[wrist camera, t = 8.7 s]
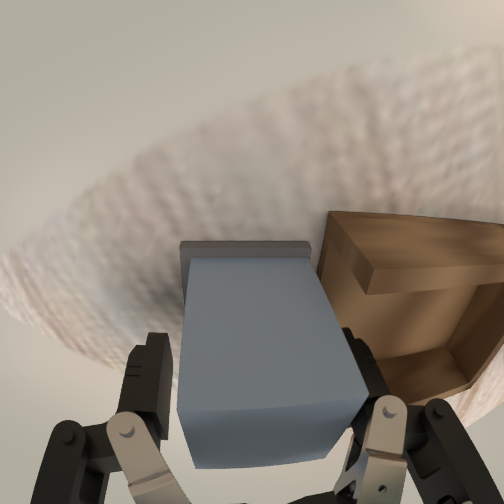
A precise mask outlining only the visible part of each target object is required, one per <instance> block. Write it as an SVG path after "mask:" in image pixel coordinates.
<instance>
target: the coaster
mask: <svg viewBox="0 0 504 504" xmlns="http://www.w3.org/2000/svg"><path fill="white" fill-rule="evenodd" d="M310 253H311V247H310V245H309V243H308V242H284V241H181V245H180V258H181V271H182V283H183V293H184V303H185V304H186V295H187V286H188V278H189V270H190V262H191V258H309V259H310Z"/></svg>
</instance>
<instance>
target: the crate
mask: <svg viewBox="0 0 504 504" xmlns="http://www.w3.org/2000/svg"><path fill="white" fill-rule="evenodd" d="M317 276H318V279H319V281H320V283H321V285H322V287H323V289H324V291H325V294H326V296H327V298H328V300H329V302H330V304H331V307H332V309H333V311H334V313H335V315H336V318H337V320H338V322H339V324H340V327H341V328H343V327H349V328H350V330H351V331H352V334H353V336H354V338H355V339H356V338H361V339H362V340H363V341H364V342H365V343H366V344H367V345H368V346H369V348H370V350H371V352H372V354H373V358H375V360H376V362H377V366H378V367H379V369H380V371H381V373H382V375H383V377H384V380H385V382H386V384H387V386H388V388H389V390H390V393H391V394H392V396H396V397H398V398H399V399H401V400H402V401H403V402H404V404H407V405H426V404H427V402H428V401H429V400H431V399H434V398H440V399H444V398H447V397H450V396H452V395H455V394H457V393H460V392H462V391H465V390H467V389H470V388H471V387H472V386H473V384H474V383H475V382H476V381H477V379H478V378H479V377H480V376H481V374H482V373H483V372H484V370H485V369H486V368H487V366H488V365H489V364H490V362H491V361H492V360H493V358H494V357H495V355H496V354H497V353H498V351H499V350H500V348H501V347H502V345H503V344H504V225H503V224H494V223H485V222H476V221H466V220H455V219H444V218H433V217H420V216H407V215H393V214H377V213H359V212H339V211H329V215H328V220H327V226H326V232H325V237H324V242H323V247H322V253H321V258H320V263H319V267H318V272H317Z"/></svg>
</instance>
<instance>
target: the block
mask: <svg viewBox="0 0 504 504" xmlns="http://www.w3.org/2000/svg"><path fill="white" fill-rule="evenodd" d="M368 395H369V392H368V390H367V387H366V385H365V382H364V380H363V377H362V375H361V373H360V370H359V368H358V366H357V363H356V361H355V359H354V356H353V354H352V352H351V349H350V347H349V345H348V342H347V340H346V338H345V336H344V333H343V331H342V329H341V327H340V324H339V322H338V320H337V318H336V315H335V313H334V311H333V309H332V307H331V304H330V302H329V300H328V298H327V296H326V294H325V291H324V289H323V287H322V285H321V283H320V281H319V279H318V276H317V274H316V272H315V270H314V268H313V266H312V264H311V262H310V260H309V258H191V262H190V270H189V278H188V286H187V295H186V304H185V313H184V322H183V333H182V343H181V355H180V367H179V380H178V395H177V412H178V416H179V419H180V423H181V426H182V429H183V432H184V436H185V439H186V442H187V444H188V448H189V450H190V454H191V457H192V460H193V462H194V465H195V468H196V469H227V468H228V469H229V468H249V467H263V466H273V465H283V464H290V463H298V462H305V461H311V460H317V459H322V458H325V457H326V456H327V454H328V453H329V452H330V450H331V449H332V448H333V446H334V445H335V444H336V442H337V441H338V440H339V438H340V437H341V436H342V434H343V433H344V431H345V430H346V429H347V427H348V426H349V424H350V423H351V421H352V420H353V418H354V417H355V415H356V414H357V412H358V411H359V409H360V408H361V406H362V405H363V403H364V402H365V400H366V399H367V397H368Z"/></svg>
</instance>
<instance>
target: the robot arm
mask: <svg viewBox="0 0 504 504" xmlns="http://www.w3.org/2000/svg"><path fill="white" fill-rule="evenodd" d="M341 329H342V331H343V333H344V336H345V338H346V340H347V342H348V345H349V347H350V349H351V352H352V354H353V356H354V359H355V361H356V363H357V366H358V368H359V370H360V373H361V375H362V377H363V380H364V382H365V385H366V387H367V390H368V392H369V395H368V397H367V399H366V400H365V402H364V403H363V405H362V406H361V408H360V409H359V411H358V412H357V414H356V415H355V417H354V418H353V420H352V421H351V423H350V424H349V426H348V427H347V428H350V427H352V429H353V432H354V433H353V435H352V437H351V441H350V444H349V448H348V452H347V455H346V459H345V462H344V466H343V469H342V472H341V475H340V477H339V479H338V480H337V482H336V484H335V486H334V489H333V491H330V492H326V493H321V494H316V495H311V496H306V497H303V498H301V499H298V500H296V501H293V502H291V503H288V504H400V501H401V497H402V492H403V487H404V482H405V476H406V470H407V469H408V471H409V473H410V474H411V477H412V479H413V481H414V483H415V485H416V487H417V490H418V492H419V494H420V496H421V498H422V500H423V503H424V504H504V501H503V499H502V497H501V495H500V493H499V491H498V489H497V487H496V485H495V483H494V481H493V479H492V477H491V475H490V473H489V471H488V469H487V468H486V466H485V464H484V462H483V460H482V458H481V457H480V455H479V453H478V451H477V449H476V447H475V446H474V444H473V442H472V440H471V439H470V437H469V435H468V434H467V432H466V430H465V429H464V427H463V425H462V424H461V422H460V420H459V419H458V417H457V415H456V414H455V412H454V410H453V409H452V407H451V406H450V404H449V403H448V402H447V401H445V400H443V399H440V398H434V399H431V400H429V401H428V402H427V404H426V405H425V406H424V405H407V404H404V402H403V401H402V400H401V399H399V398H398V397H396V396H392V394H391V393H390V390H389V388H388V386H387V384H386V382H385V380H384V377H383V375H382V373H381V371H380V369H379V367H378V366H377V362H376V360H375V358H373V354H372V352H371V350H370V348H369V346H368V345H367V344H366V343H365V342H364V341H363V340H362V339H361V338H356V339H355V338H354V336H353V334H352V331H351V330H350V328H349V327H343V328H341ZM172 376H173V358H172V352H171V347H170V342H169V337H168V333H155V332H149V333H148V336H147V341H146V345H136V346H135V347H134V349H133V350H132V351H131V353H130V354H129V357H128V361H127V368H126V370H125V377H124V379H123V384H122V389H121V394H120V399H119V404H118V409H117V412H116V413H115V415H114V416H112V417H111V418H110V420H109V421H107V422H105V423H103V424H98V425H91V426H85V427H82V426H81V425H80V424H79V423H77V422H75V421H71V420H65V421H62V422H60V423H58V424H57V425H56V426H55V427H54V429H53V431H52V434H51V436H50V439H49V442H48V445H47V448H46V451H45V454H44V457H43V460H42V463H41V467H40V470H39V473H38V477H37V480H36V484H35V487H34V491H33V495H32V499H31V503H30V504H104V500H105V495H106V490H107V485H108V480H109V475H110V473H111V472H118V471H123V472H124V474H125V476H126V478H127V480H128V484H129V485H128V487H129V490H130V493H131V495H132V497H133V499H134V501H135V503H136V504H191V502H190V501H189V499H188V498H187V496H186V495H185V493H184V492H183V490H182V489H181V487H180V485H179V484H178V482H177V481H176V479H175V477H174V476H173V474H172V472H171V471H170V469H169V467H168V465H167V464H166V462H165V460H164V459H163V457H162V455H161V453H160V441H161V440H168V430H169V413H170V398H171V387H172ZM242 504H246V503H242Z"/></svg>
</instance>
